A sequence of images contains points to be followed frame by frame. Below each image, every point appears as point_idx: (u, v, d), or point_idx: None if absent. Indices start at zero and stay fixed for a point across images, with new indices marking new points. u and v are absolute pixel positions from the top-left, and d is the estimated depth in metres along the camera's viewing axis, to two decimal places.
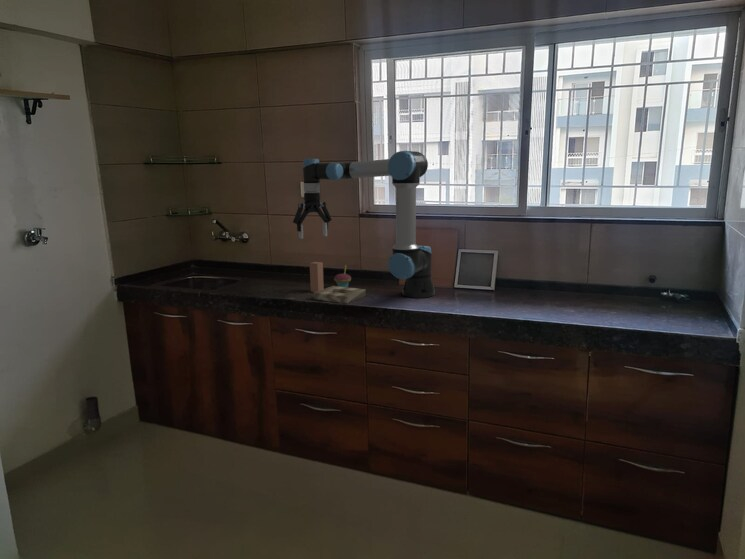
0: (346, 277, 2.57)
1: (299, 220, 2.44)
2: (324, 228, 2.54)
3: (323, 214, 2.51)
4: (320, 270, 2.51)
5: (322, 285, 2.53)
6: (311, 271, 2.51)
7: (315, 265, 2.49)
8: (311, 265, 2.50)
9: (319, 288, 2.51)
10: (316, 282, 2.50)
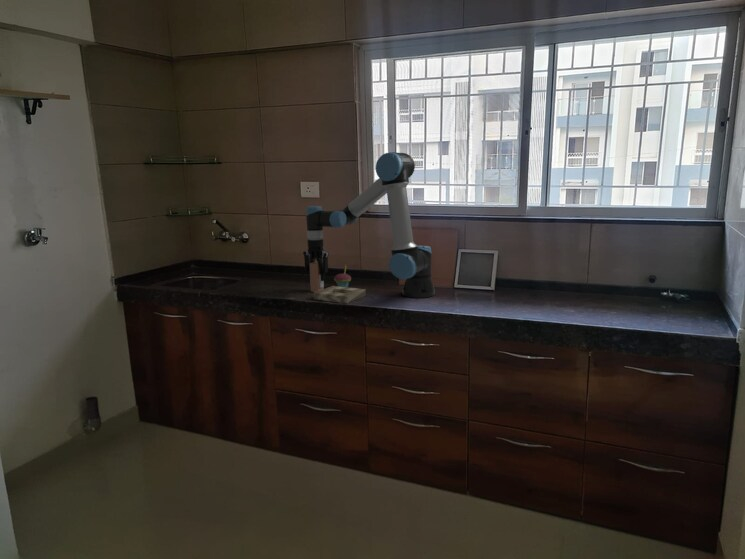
0: (346, 277, 2.57)
1: (309, 269, 2.53)
2: None
3: (319, 264, 2.49)
4: None
5: None
6: (311, 271, 2.51)
7: (315, 265, 2.49)
8: (311, 265, 2.50)
9: (319, 288, 2.51)
10: (316, 282, 2.50)
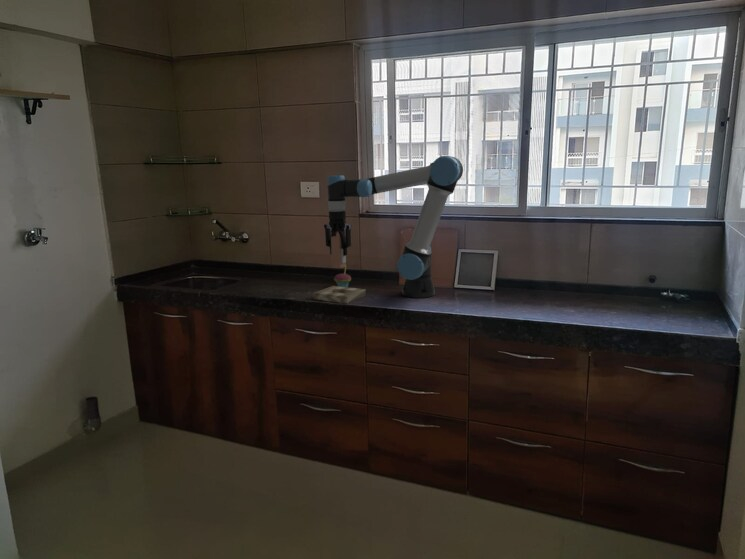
0: (346, 277, 2.57)
1: (330, 243, 2.37)
2: None
3: (342, 238, 2.33)
4: None
5: None
6: (332, 245, 2.34)
7: (337, 238, 2.33)
8: (333, 239, 2.34)
9: (341, 263, 2.35)
10: (338, 257, 2.34)
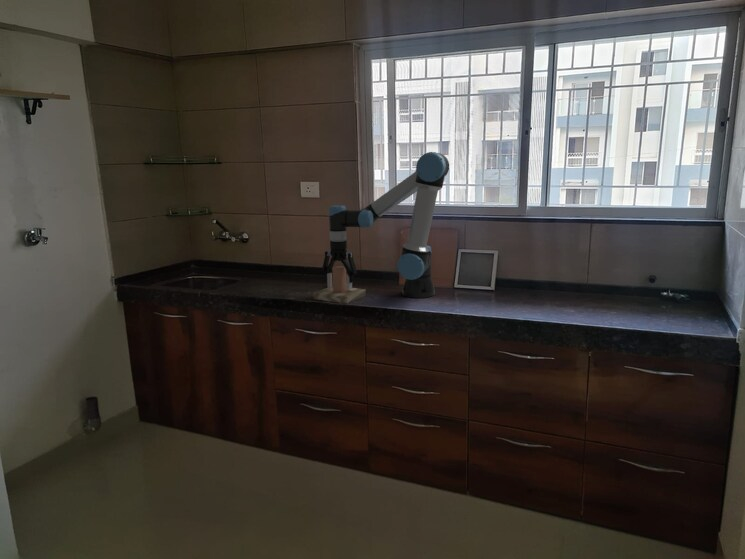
0: (346, 277, 2.57)
1: None
2: None
3: (346, 266, 2.34)
4: (343, 275, 2.37)
5: (345, 291, 2.40)
6: (334, 276, 2.37)
7: (338, 269, 2.35)
8: (334, 270, 2.36)
9: None
10: (339, 288, 2.37)
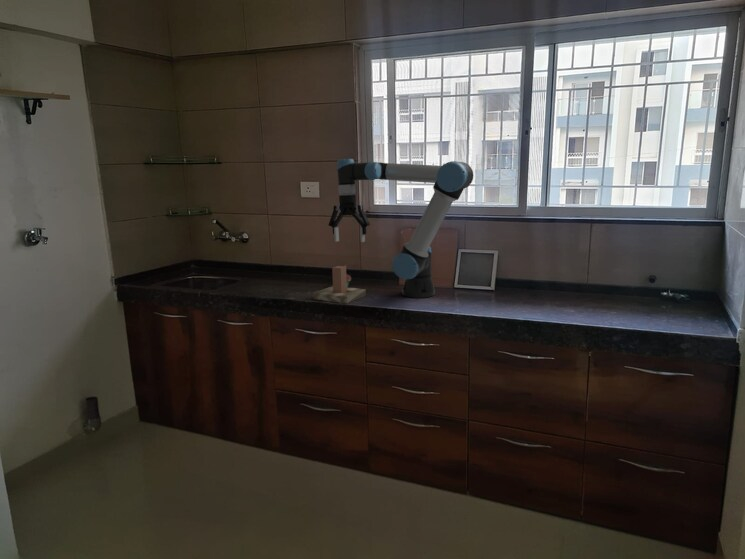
0: (346, 277, 2.57)
1: None
2: None
3: (357, 218, 2.32)
4: (343, 275, 2.37)
5: (345, 291, 2.40)
6: (334, 276, 2.37)
7: (338, 269, 2.35)
8: (334, 270, 2.36)
9: None
10: (339, 288, 2.37)
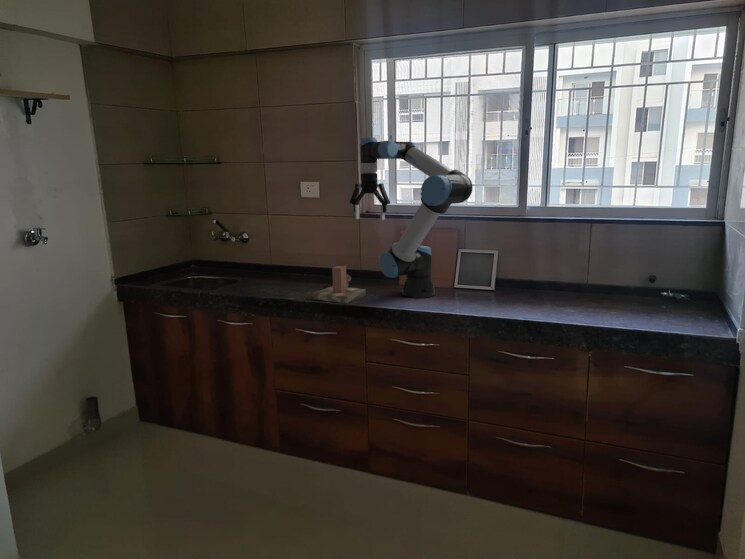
0: (346, 277, 2.57)
1: None
2: None
3: (378, 196, 2.37)
4: (343, 275, 2.37)
5: (345, 291, 2.40)
6: (334, 276, 2.37)
7: (338, 269, 2.35)
8: (334, 270, 2.36)
9: None
10: (339, 288, 2.37)
